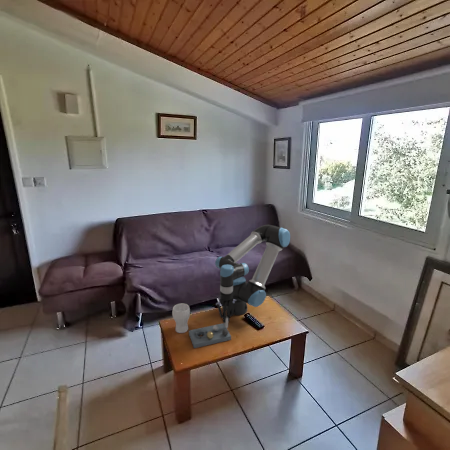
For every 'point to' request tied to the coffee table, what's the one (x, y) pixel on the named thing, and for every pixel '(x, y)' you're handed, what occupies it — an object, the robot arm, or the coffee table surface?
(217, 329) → the steel ball
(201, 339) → the plate
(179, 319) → the cup
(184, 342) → the coffee table surface
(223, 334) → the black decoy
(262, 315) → the coffee table surface
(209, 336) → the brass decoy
